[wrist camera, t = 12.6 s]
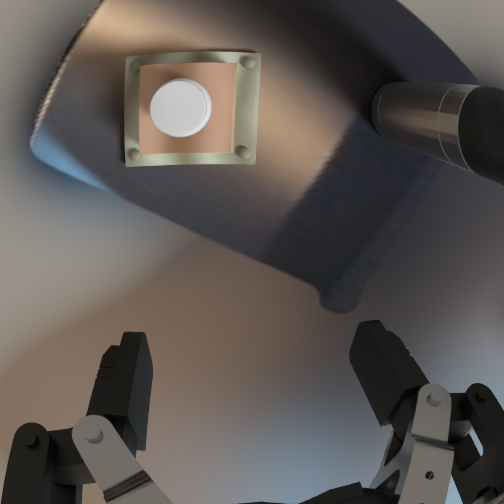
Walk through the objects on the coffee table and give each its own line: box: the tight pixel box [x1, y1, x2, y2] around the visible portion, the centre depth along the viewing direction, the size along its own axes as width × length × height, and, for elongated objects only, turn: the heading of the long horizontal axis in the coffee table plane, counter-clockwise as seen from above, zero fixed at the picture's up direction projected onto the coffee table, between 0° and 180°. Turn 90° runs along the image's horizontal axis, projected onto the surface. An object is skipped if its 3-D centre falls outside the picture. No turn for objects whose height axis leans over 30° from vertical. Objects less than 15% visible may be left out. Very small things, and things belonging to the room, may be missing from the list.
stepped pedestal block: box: [124, 52, 261, 167], centre depth 30 cm, size 16×14×8 cm
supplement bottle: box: [150, 78, 212, 137], centre depth 22 cm, size 5×5×8 cm
